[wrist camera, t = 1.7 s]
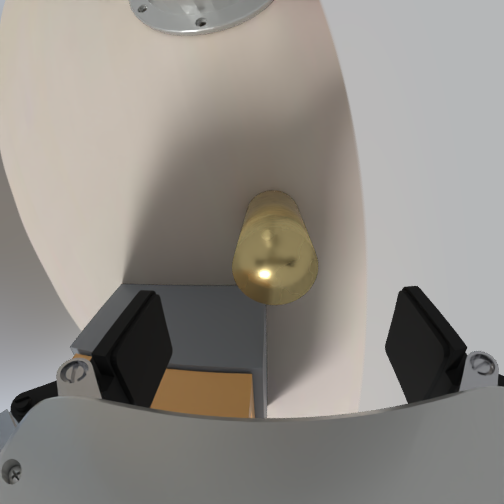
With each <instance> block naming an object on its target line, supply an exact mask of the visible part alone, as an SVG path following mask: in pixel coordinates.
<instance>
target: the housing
mask: <svg viewBox="0 0 504 504" xmlns="http://www.w3.org/2000/svg"><path fill="white" fill-rule="evenodd" d="M140 290H152V291H155V292H156V294H158V295H159V296H160V298H161V303H162V307H163V311H164V316H165V320H166V324H167V328H168V332H169V336H170V340H171V344H172V348H173V353H172V356H171V359H170V361H169V363H168V366H167V369H176V370H187V371H199V372H215V373H240V374H252V380H253V395H254V410H255V418H267V347H266V304H262V303H259V302H256V301H254V300H252V299H251V298H249V297H248V296H246V295H245V294H244V293H243V292H242V291H241V290H240V289H239V287H238V286H193V285H140V284H121V285H120V286H119V288H118V289H117V290H116V291H115V292H114V293H113V295H112V296H111V297H110V298H109V299H108V300H107V302H106V303H105V304H104V305H103V306H102V307H101V309H100V310H99V311H98V312H97V314H96V315H95V316H94V317H93V318H92V320H91V321H90V322H89V323H88V325H87V326H86V327H85V328H84V330H83V331H82V332H81V334H80V335H79V336H78V337H77V338H76V340H75V341H74V342H73V344H72V345H71V346H70V348H71V350H72V352H73V354H74V355H75V354H76V353H77V354H81V355H86V356H91V357H92V355H91V353H92V352H93V350H94V349H95V348H96V346H97V345H98V344H99V342H100V341H101V339H102V338H103V337H104V335H105V334H106V333H107V332H108V330H109V329H110V328H111V326H112V325H113V324H114V322H115V321H116V320H117V318H118V317H119V316H120V315H121V313H122V312H123V311H124V310H125V308H126V307H127V306H128V304H129V303H130V302H131V301H132V299H133V298H134V297H135V296H136V295H137V293H138V292H139V291H140Z"/></svg>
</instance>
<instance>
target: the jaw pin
mask: <svg viewBox="0 0 504 504" xmlns="http://www.w3.org/2000/svg"><path fill="white" fill-rule="evenodd" d="M232 272H233V276H234V280H235V282H236V284H237V286H238V287H239V289H240V290H241V291H242V292H243V293H244V294H245V295H246V296H248V297H249V298H251V299H252V300H254V301H256V302H259V303H262V304H267V305H283V304H287V303H290V302H293V301H295V300H297V299H299V298H300V297H302V296H303V295H304V294H306V293H307V292H308V291H309V289H310V288H311V287H312V285H313V284H314V282H315V279H316V276H317V273H318V260H317V256H316V253H315V250H314V247H313V245H312V242H311V240H310V237H309V235H308V232H307V230H306V227H305V225H304V222H303V220H302V217H301V215H300V212H299V210H298V207H297V205H296V203H295V202H294V200H293V199H292V198H291V197H290V196H288V195H287V194H285V193H283V192H280V191H274V190H271V191H265V192H262V193H260V194H258V195H257V196H256V197H254V198H253V200H252V201H251V202H250V204H249V206H248V209H247V212H246V216H245V219H244V222H243V226H242V229H241V233H240V236H239V240H238V243H237V247H236V250H235V254H234V257H233V262H232Z"/></svg>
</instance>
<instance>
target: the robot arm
mask: <svg viewBox="0 0 504 504" xmlns="http://www.w3.org/2000/svg"><path fill="white" fill-rule="evenodd" d="M272 1H274V0H129V4H130V7H131V10H132V11H133V13H134V14H135V16H136V17H137V18H138V19H139V20H141V21H142V22H143V23H144V24H146V25H147V26H149V27H151V28H152V29H154V30H157V31H160V32H163V33H167V34H173V35H189V36H193V35H201V34H209V33H213V32H217V31H222V30H225V29H228V28H231V27H233V26H236V25H239V24H241V23H243V22H245V21H247V20H249V19H251V18H253V17H254V16H256V15H257V14H259V13H260V12H261V11H263V10H264V9H265V8H266V7H267V6H268V5H269V4H270V3H271V2H272ZM202 24H206V25H204V26H202V27H201V25H202ZM466 349H467V346H466V345H465V343H464V342H463V341H462V339H461V338H460V337H459V335H458V334H457V333H456V332H455V330H454V329H453V328H452V326H450V324H449V323H448V322H447V320H446V319H445V318H444V317H443V315H442V314H441V313H440V312H439V310H438V309H437V308H436V307H435V306H434V304H433V303H432V302H431V301H430V300H429V299H428V298H427V296H426V295H425V294H424V293H423V292H422V290H421V289H420V288H419V287H418V286H409V287H404V288H403V289H402V291H400V292H399V294H398V298H397V302H396V306H395V311H394V314H393V318H392V322H391V326H390V330H389V333H388V337H387V341H386V344H385V350H386V353H387V356H388V358H389V360H390V362H391V364H392V367H393V369H394V371H395V374H396V376H397V378H398V380H399V383H400V385H401V388H402V390H403V392H404V395H405V397H406V400H407V402H408V404H405V405H400V406H395V407H390V408H384V409H378V410H372V411H365V412H358V413H350V414H341V415H330V416H318V417H302V418H237V417H219V416H207V415H197V414H188V413H180V412H173V411H166V410H159V409H153V408H150V407H151V404H152V402H153V399H154V397H155V394H156V392H157V390H158V387H159V385H160V382H161V380H162V378H163V375H164V373H165V371H166V368H167V366H168V363H169V361H170V359H171V356H172V353H173V348H172V344H171V340H170V336H169V332H168V328H167V324H166V320H165V316H164V311H163V307H162V303H161V298H160V296H159V295H158V294H156V292H155V291H152V290H140V291H139V292H138V293H137V295H136V296H135V297H134V298H133V299H132V301H131V302H130V303H129V304H128V306H127V307H126V308H125V310H124V311H123V312H122V313H121V315H120V316H119V317H118V318H117V320H116V321H115V322H114V324H113V325H112V326H111V328H110V329H109V330H108V332H107V333H106V334H105V335H104V337H103V338H102V339H101V341H100V342H99V344H98V345H97V346H96V348H95V349H94V350H93V352H92V353H91V355H92V358H91V359H90V361H89V360H87V359H85V358H73V359H70V360H68V361H66V362H65V363H63V364H62V365H61V366H60V367H59V369H58V371H57V375H56V378H57V381H54V382H51V383H49V384H46V385H43V386H41V387H37V388H35V389H32V390H29V391H26V392H23V393H21V394H19V395H18V396H17V397H16V398H15V399H14V400H13V402H12V404H11V411H10V412H9V411H8V410H7V409H6V410H5V411H3V412H2V413H0V504H504V376H502V375H500V374H498V372H499V368H498V364H497V362H496V360H495V359H494V358H493V357H492V356H491V355H489V354H487V353H485V352H481V351H474V352H471V353H470V354H469V355H467V354H466V353H465V351H466Z"/></svg>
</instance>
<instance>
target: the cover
mask: <svg viewBox="0 0 504 504" xmlns="http://www.w3.org/2000/svg"><path fill="white" fill-rule="evenodd" d="M73 358H85V359H87V360H89V361H90V359H91V358H92V357H91V356H86V355H81V354H77V353H76V354H75V355H74V357H73ZM73 358H72V359H73ZM150 408H153V409H159V410H166V411H173V412H180V413H188V414H197V415H207V416H219V417H237V418H255V410H254V395H253V380H252V374H240V373H215V372H199V371H187V370H176V369H167V368H166V371H165V373H164V375H163V378H162V380H161V382H160V385H159V387H158V390H157V392H156V394H155V397H154V399H153V402H152V404H151V407H150Z"/></svg>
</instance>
